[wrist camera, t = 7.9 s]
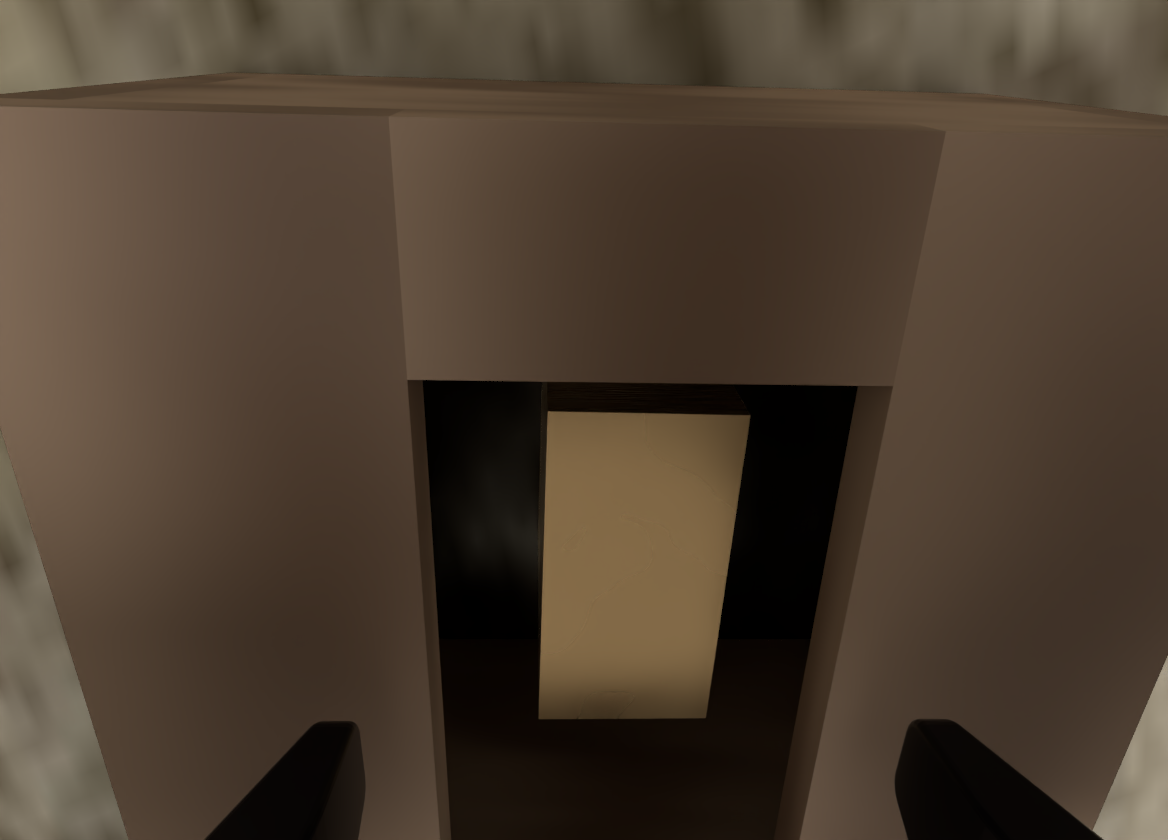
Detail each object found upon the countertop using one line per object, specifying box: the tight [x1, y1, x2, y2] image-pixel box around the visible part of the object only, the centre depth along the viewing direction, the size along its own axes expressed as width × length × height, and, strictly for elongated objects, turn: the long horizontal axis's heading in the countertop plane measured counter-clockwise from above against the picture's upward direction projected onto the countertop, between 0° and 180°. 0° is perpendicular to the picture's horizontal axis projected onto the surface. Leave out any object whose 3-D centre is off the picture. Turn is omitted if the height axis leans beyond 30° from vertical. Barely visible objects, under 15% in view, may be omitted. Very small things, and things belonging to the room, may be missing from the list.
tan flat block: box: [538, 382, 751, 719], centre depth 13 cm, size 2×5×5 cm, turn 177°
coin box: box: [0, 73, 1168, 840], centre depth 12 cm, size 12×12×7 cm
